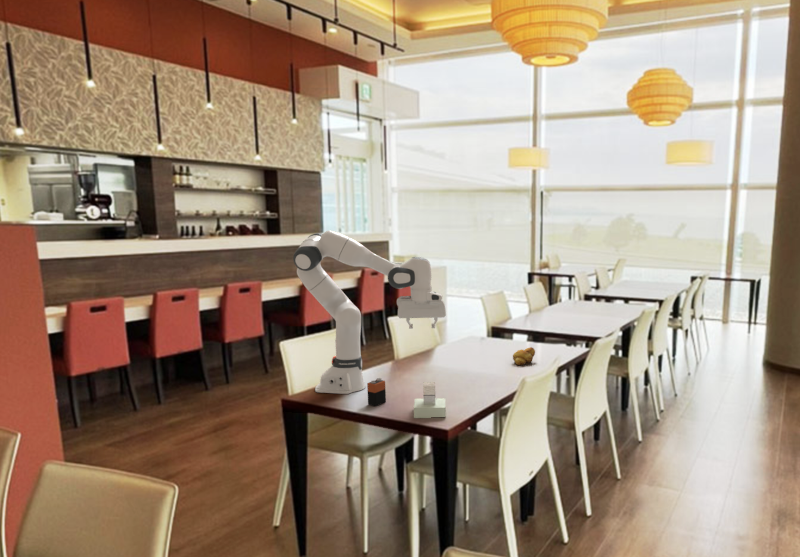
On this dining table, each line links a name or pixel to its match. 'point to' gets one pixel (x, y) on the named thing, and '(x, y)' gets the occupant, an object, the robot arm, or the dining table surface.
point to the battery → (376, 392)
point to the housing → (429, 393)
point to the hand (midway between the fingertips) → (422, 328)
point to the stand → (429, 409)
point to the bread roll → (524, 356)
